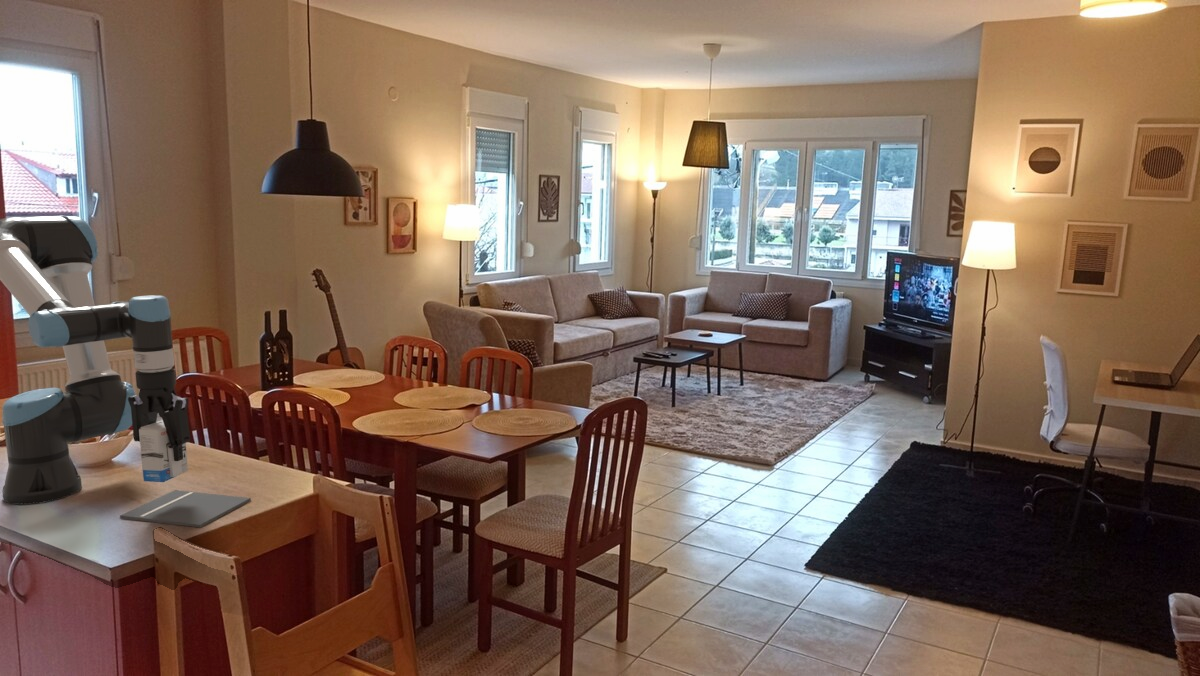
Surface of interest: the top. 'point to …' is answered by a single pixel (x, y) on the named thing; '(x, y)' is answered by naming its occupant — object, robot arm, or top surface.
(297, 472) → the top surface
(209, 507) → the mat
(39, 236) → the robot arm
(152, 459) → the ink box
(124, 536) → the top surface
